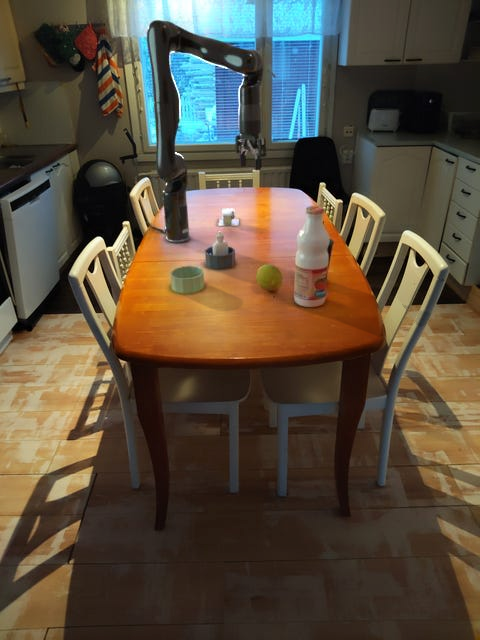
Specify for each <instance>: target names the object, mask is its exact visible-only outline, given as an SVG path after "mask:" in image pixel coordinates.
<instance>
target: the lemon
mask: <svg viewBox="0 0 480 640" xmlns="http://www.w3.org/2000/svg"><path fill="white" fill-rule="evenodd" d="M256 282H257V284H258V285H259V287H260V288H261V289H263V290H265V291H268V292H275V291H277V290H279V289H280V287H281V286H282V284H283V274H282V272H281V270H280V269H279V268H278V267H277V266H276V265H274V264H270V263H269V264H268V263H267V264H263V265H261V266H260V267H259V268H258V269H257V272H256Z"/></svg>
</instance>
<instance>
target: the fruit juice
mask: <svg viewBox="0 0 480 640" xmlns="http://www.w3.org/2000/svg"><path fill="white" fill-rule="evenodd" d="M324 214H325V208H324V207H323V206H319V205H310V206H307V207H306V208H305V216H306V219H305V222H304V225H303V227H302V228H301V229H300V230H299V232H298V233H297V236H296V246H297V251H296V253H295V260H294V263H295V264H294V288H293V299H294V302H295V304H297V305H299V306H302V307H306V308H315V307H319V306H320V307H321V306H322V305H324V304H325V302H326V300H327V299H326V298H327V288H328V287H327V286H328V273H329V269H328V263H329V255H328V252H327V248H328V246H329V242H330V239H331V238H330V234H329V233H328V231H327V230H326V228H325V224H324V225H323V221H324V220H323V215H324ZM329 264H330V263H329Z"/></svg>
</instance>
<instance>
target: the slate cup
mask: <svg viewBox="0 0 480 640" xmlns="http://www.w3.org/2000/svg"><path fill="white" fill-rule="evenodd" d="M235 250H236V249H235V248H234V247H232V246H229V245H228V254H227V255H222V256H215V255H213V246H210V247H207V248H206V249H204V256H205V257H204V258H205V259H204V260H205V267H206V268H209V269H210V270H217V271H220V270H221V271H222V270H227V269H230V268H233V267H234V266H236V251H235Z"/></svg>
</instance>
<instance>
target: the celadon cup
mask: <svg viewBox="0 0 480 640" xmlns="http://www.w3.org/2000/svg"><path fill="white" fill-rule="evenodd" d="M169 273H170V284H171V290H172V291H173V292H175V293H177V294H183V295H185V294H195V293H199V292H201V291H202V290H203V289H205V272H204V269H203V268H201V267H199V266H195V265H184V266H179V267H175V268H173V269H172V270H171V271H170V272H169Z"/></svg>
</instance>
